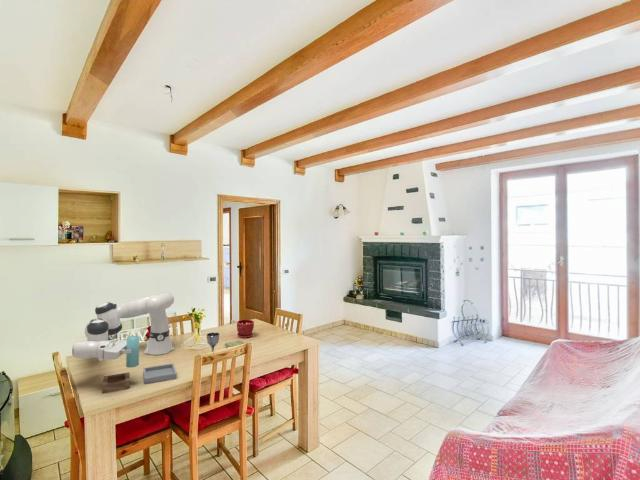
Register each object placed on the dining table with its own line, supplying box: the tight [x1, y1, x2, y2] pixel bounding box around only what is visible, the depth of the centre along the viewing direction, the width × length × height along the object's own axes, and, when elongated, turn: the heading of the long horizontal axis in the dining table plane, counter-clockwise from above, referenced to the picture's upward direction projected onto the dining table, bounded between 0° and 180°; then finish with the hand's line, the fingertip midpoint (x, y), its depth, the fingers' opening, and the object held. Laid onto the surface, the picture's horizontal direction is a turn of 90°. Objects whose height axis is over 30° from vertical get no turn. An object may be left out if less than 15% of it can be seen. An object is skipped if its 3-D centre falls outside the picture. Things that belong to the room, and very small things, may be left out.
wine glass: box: [206, 331, 220, 353], centre depth 224 cm, size 8×8×15 cm
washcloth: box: [224, 340, 245, 348], centre depth 243 cm, size 13×18×3 cm
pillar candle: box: [125, 335, 140, 368], centre depth 183 cm, size 6×6×15 cm
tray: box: [142, 363, 178, 385], centre depth 194 cm, size 16×16×3 cm
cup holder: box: [101, 372, 131, 394], centre depth 180 cm, size 12×12×4 cm
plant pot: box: [236, 319, 255, 339], centre depth 269 cm, size 13×13×12 cm
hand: (134, 348), depth 184 cm, fingers closed on pillar candle, 6 cm apart
